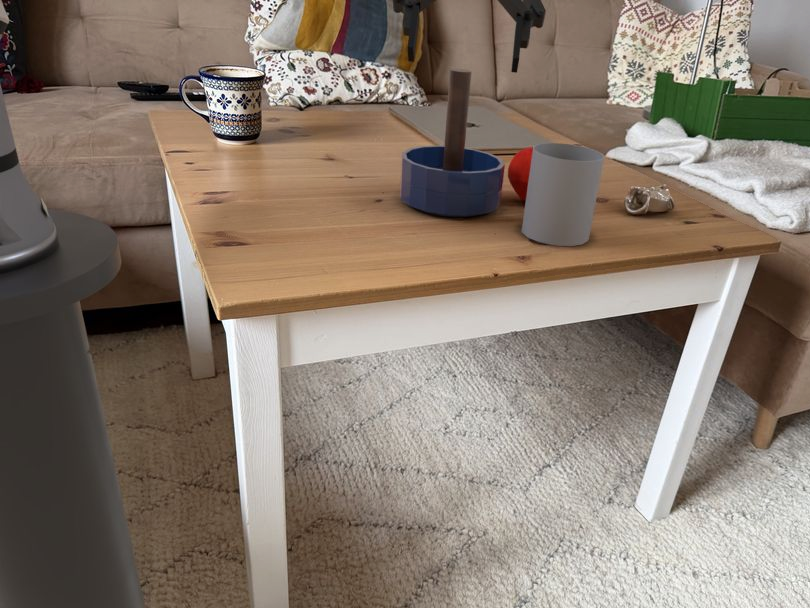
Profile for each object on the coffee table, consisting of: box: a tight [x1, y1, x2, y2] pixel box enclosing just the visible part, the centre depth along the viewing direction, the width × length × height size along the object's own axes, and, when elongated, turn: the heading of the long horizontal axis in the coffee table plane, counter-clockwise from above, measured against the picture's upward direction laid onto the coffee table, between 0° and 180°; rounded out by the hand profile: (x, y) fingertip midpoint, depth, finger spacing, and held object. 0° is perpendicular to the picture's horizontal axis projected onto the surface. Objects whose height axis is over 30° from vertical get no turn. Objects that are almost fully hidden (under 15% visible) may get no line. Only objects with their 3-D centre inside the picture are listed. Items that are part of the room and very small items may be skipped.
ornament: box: [623, 183, 676, 216], centre depth 94 cm, size 8×7×4 cm
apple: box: [507, 146, 533, 203], centre depth 92 cm, size 8×8×7 cm
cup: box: [521, 142, 605, 247], centre depth 80 cm, size 8×8×10 cm
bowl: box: [399, 145, 506, 218], centre depth 88 cm, size 13×13×6 cm
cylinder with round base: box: [443, 68, 472, 171], centre depth 85 cm, size 4×4×16 cm
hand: (462, 60), depth 87 cm, fingers open, 13 cm apart
